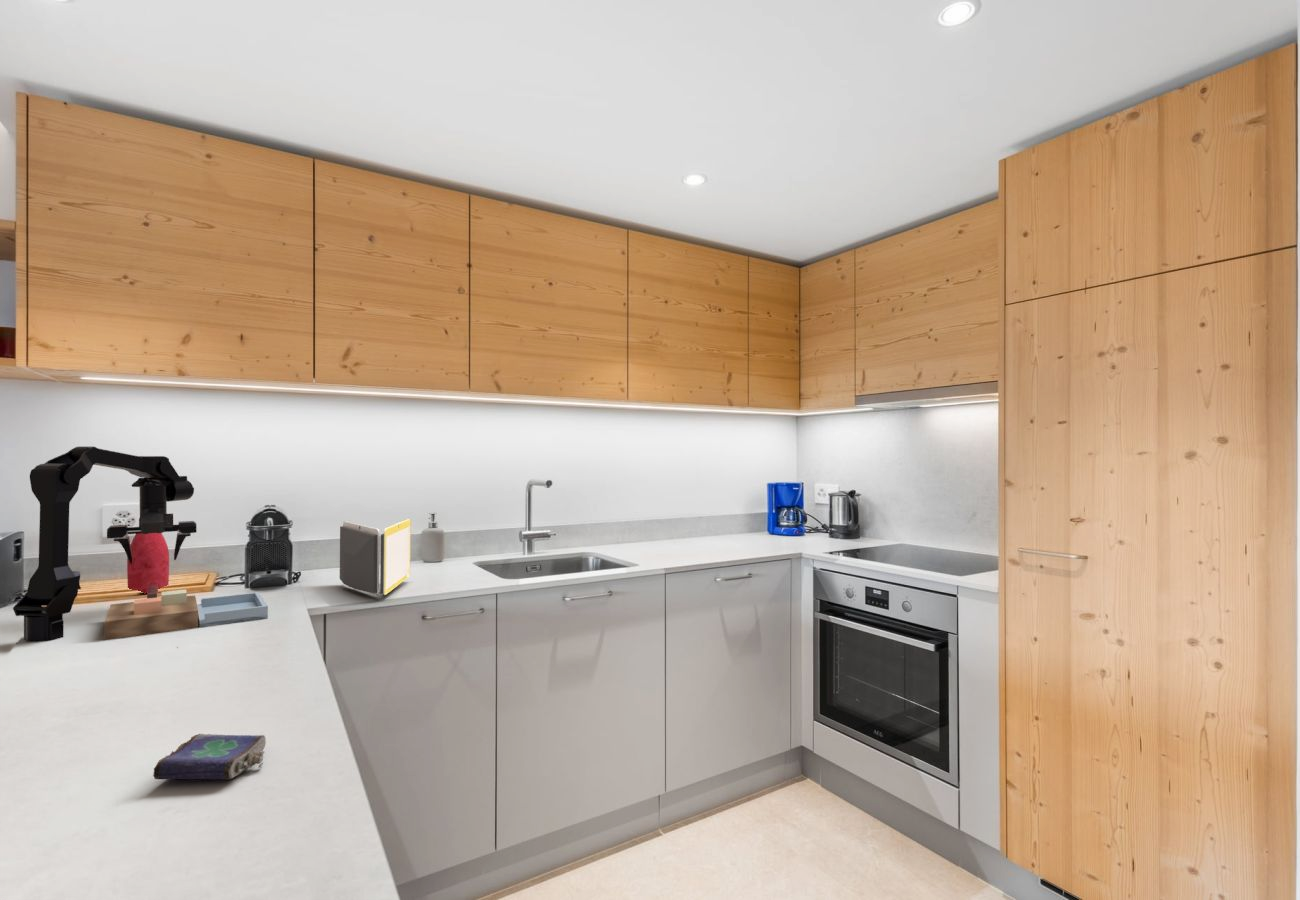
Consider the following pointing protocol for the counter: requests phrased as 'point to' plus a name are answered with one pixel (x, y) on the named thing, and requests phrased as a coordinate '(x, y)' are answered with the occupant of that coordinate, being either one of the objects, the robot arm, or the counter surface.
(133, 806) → the counter surface
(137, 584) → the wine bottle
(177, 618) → the wood-grain brown block
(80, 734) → the counter surface
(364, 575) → the folding display board
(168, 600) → the sage tile
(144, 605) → the terracotta tile
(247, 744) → the navy flat block
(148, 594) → the grey rectangular bar
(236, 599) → the box
